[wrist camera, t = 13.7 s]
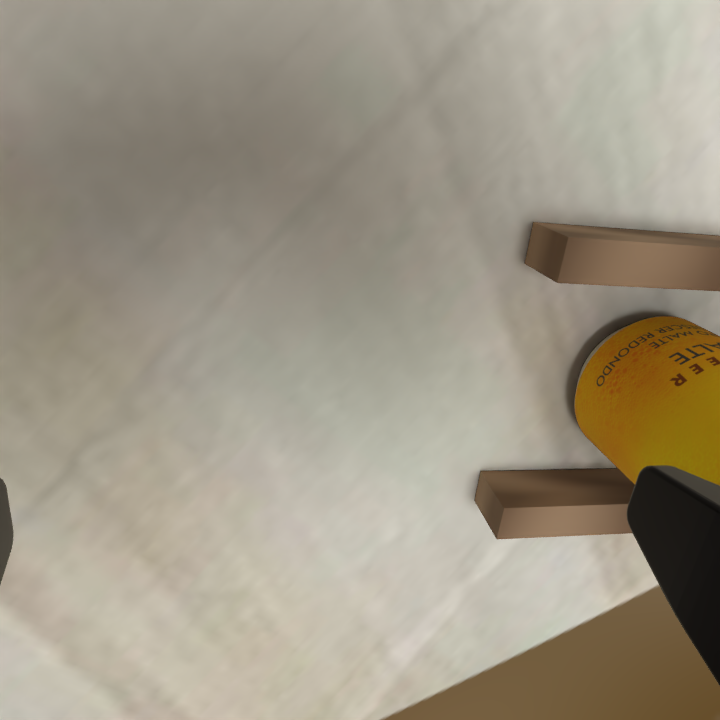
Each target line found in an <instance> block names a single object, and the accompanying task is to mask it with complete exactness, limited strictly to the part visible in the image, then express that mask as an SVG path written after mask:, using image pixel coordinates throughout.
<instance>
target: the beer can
mask: <svg viewBox="0 0 720 720" xmlns="http://www.w3.org/2000/svg"><path fill="white" fill-rule="evenodd" d="M574 405H575V414H576V419H577V422H578V425H579V427H580V429H581V430H582V432H583V433H584V435H585V436H586V437H587V438H588V439H589V440H590V441H591V442H592V443H593V444H594V445H595V446H596V447H597V448H598V449H599V450H600V451H601V452H602V453H603V454H604V455H605V456H606V457H607V458H608V459H609V460H610V461H611V462H612V463H613V464H614V465H615V466H616V467H617V468H618V469H619V470H620V471H621V472H622V473H623V474H624V475H625V476H626V477H627V478H628V479H630V480H631V481H632V482H633V483H634V484H635V483H636V480H637V477H638V475H639V472H640V471H641V470H642V469H643V468H644V467H646V466H654V465H669V466H673V467H676V468H678V469H681V470H683V471H686V472H688V473H691V474H693V475H695V476H698V477H700V478H703V479H705V480H707V481H710V482H712V483H715V484H717V485H720V336H718V335H716V334H714V333H712V332H710V331H708V330H706V329H704V328H702V327H700V326H698V325H696V324H694V323H692V322H690V321H687V320H685V319H682V318H678V317H672V316H658V317H651V318H647V319H643V320H640V321H637V322H635V323H633V324H631V325H628V326H626V327H623V328H621V329H619V330H617V331H615V332H614V333H612V334H611V335H609V336H608V337H606V338H605V339H604V340H603V341H602V342H600V343H599V344H598V346H597V347H596V348H595V349H594V350H593V351H592V352H591V354H590V355H589V357H588V358H587V360H586V361H585V363H584V365H583V367H582V369H581V372H580V375H579V378H578V383H577V388H576V393H575V403H574Z"/></svg>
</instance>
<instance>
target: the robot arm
mask: <svg viewBox="0 0 720 720" xmlns="http://www.w3.org/2000/svg"><path fill="white" fill-rule="evenodd" d="M627 521H628V524H629V527H630V529H631V531H632V533H633V535H634V537H635V538H636V540H637V542H638V544H639V546H640V548H641V550H642V552H643V554H644V556H645V558H646V560H647V562H648V564H649V566H650V568H651V570H652V572H653V573H654V575H655V577H656V579H657V581H658V583H659V585H660V587H661V589H662V591H663V593H664V595H665V597H666V599H667V601H668V602H669V604H670V606H671V608H672V610H673V612H674V613H675V615H676V617H677V618H678V620H679V622H680V623H681V625H682V627H683V628H684V630H685V632H686V633H687V635H688V636H689V638H690V639H691V641H692V643H693V644H694V646H695V647H696V649H697V650H698V652H699V654H700V655H701V656H702V658H703V660H704V661H705V663H706V665H707V666H708V668H709V670H710V671H711V673H712V674H713V675H714V677H715V679H716V680H717V682H718V684H719V685H720V485H717V484H715V483H712V482H710V481H707V480H705V479H703V478H700V477H698V476H695V475H693V474H691V473H688V472H686V471H683V470H681V469H678V468H676V467H673V466H669V465H654V466H646V467H644V468H643V469H642V470H641V471H640V472H639V475H638V477H637V480H636V483H635V486H634V489H633V492H632V495H631V498H630V501H629V504H628V507H627ZM12 544H13V526H12V519H11V513H10V507H9V500H8V494H7V488H6V485H5V483H4V481H3V480H2V479H1V478H0V584H1V581H2V578H3V575H4V571H5V568H6V565H7V562H8V559H9V556H10V552H11V549H12Z"/></svg>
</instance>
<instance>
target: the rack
mask: <svg viewBox="0 0 720 720" xmlns="http://www.w3.org/2000/svg"><path fill="white" fill-rule="evenodd" d="M525 264H526V265H528V266H530V267H531V268H533V269H535V270H536V271H538V272H540V273H542V274H543V275H545V276H547V277H548V278H550V279H552V280H553V281H555V282H557V283H569V284H589V285H609V286H628V287H648V288H668V289H687V290H707V291H720V236H715V235H702V234H688V233H674V232H661V231H647V230H633V229H620V228H606V227H592V226H579V225H565V224H551V223H538V222H533V226H532V231H531V236H530V241H529V245H528V250H527V255H526V260H525ZM634 486H635V484H634V483H633V482H632V481H631V480H630V479H628V478H627V477H626V476H625V475H624V474H623V473H622V472H621V471H620V470H619V469H574V470H523V471H481V472H480V477H479V482H478V486H477V491H476V496H475V502H476V504H477V506H478V507H479V509H480V511H481V513H482V514H483V516H484V518H485V520H486V521H487V523H488V525H489V527H490V528H491V530H492V532H493V533H494V535H495V537H496V539H513V538H535V537H557V536H579V535H601V534H623V533H632V531H631V529H630V527H629V524H628V521H627V507H628V504H629V501H630V498H631V495H632V492H633V489H634Z"/></svg>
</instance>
